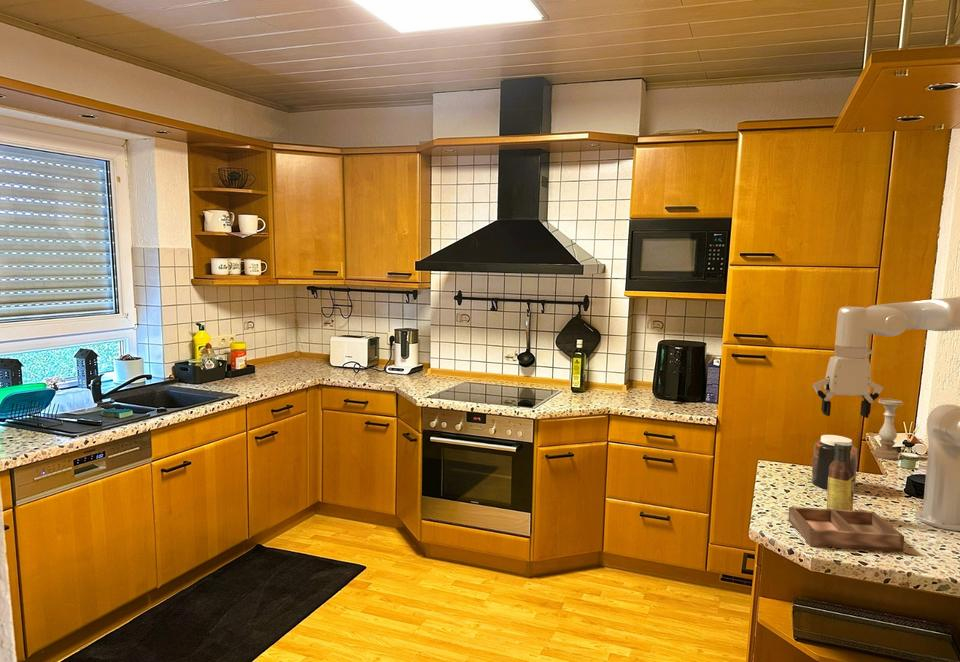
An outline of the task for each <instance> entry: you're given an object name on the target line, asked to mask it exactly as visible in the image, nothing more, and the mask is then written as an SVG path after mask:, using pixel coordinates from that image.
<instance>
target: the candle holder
mask: <svg viewBox="0 0 960 662" xmlns="http://www.w3.org/2000/svg"><path fill="white" fill-rule="evenodd" d="M877 402H878V403H879V404H880V405H881V404H882V405H883V408H884V409H885V411H884V412H883V416H884V422H883V425H882V426H881V428H880V430H879V432H878V436H879V437H880V439H879V443H880V445H881V446H880V447H876V448H875V449H873V450H871V455H873V456H874V457H876V458H880V459H884V460H885V459H886V460H899V459H898V455H899V454H900V453H899V452H898V450H895V449H893V447H894V446H895V444H896V442H895V440H896V439H897V438H898V437H897V436H898V433H897V430H896V428H895V425H894V424H895V423H894V422H895V421H894V420H895V417H897V415H896V413H895V410H896V409H898V407H899V406H903V405H904V401H902V400H899V399H896V398H894V399H893V398H878V400H877Z"/></svg>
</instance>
